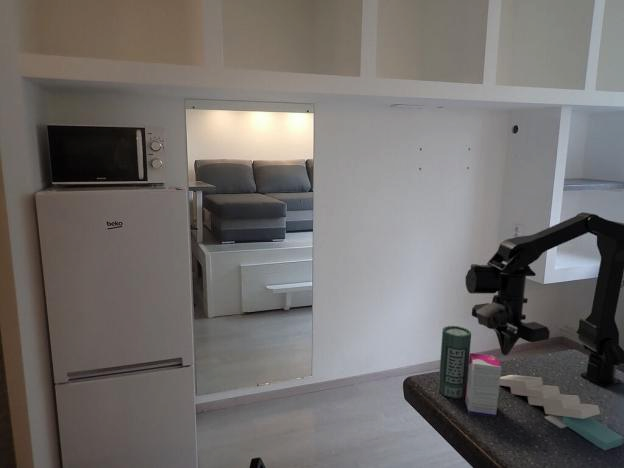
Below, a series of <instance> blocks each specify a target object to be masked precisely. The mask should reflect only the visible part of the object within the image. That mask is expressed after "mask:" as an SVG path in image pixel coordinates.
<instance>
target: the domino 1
mask: <svg viewBox="0 0 624 468" xmlns="http://www.w3.org/2000/svg"><path fill="white" fill-rule="evenodd" d="M543 383H544V382H543V379H542V377H538V376H528V375H527V376H526V375H518V374H517V375H516V374H510V375H509V374H508V375H503V376H500V385H499V386H504V387H516V388H524V389H528V388H532V387H537V386H541V385H544V384H543Z"/></svg>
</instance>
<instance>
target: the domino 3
mask: <svg viewBox="0 0 624 468" xmlns="http://www.w3.org/2000/svg"><path fill="white" fill-rule="evenodd" d="M526 397H527V401H528V405H530V406H540V407H544V406H547V407H556V408H567V407H570V406H574V405H578V404H582V403H581V400H580V396H579V395H573V394H572V395H571V394H561V393H560V394H559V395H555V396H551V397H548V398H544V399H543V398H537V397H530V396H526Z"/></svg>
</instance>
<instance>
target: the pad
mask: <svg viewBox="0 0 624 468" xmlns="http://www.w3.org/2000/svg"><path fill="white" fill-rule="evenodd" d="M544 419H545V420H546V421H548V422H549V423H551V424H553V425H555V426H557V427H558V428H560V429H561V430H562V429H564V428H569V427H568V426H566V425H565V424H563V423H562V421H563V416H558V415H551V414H548V415H545V416H544Z"/></svg>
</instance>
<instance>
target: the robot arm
mask: <svg viewBox="0 0 624 468" xmlns="http://www.w3.org/2000/svg"><path fill="white" fill-rule="evenodd" d="M586 234H592V235H593V236H595V237H596V247H597V249H598V252H599V255H600V263H599V268H598V274H597V278H596V284H595V290H594V295H593V301H592V306H591V312H590V314H589V315H588V316H587V317H586V318H585V319H584V318H580V319H578V328H577V331H576V334H577V335H578V340H579V341H580V343H581V344H582V348H583V350H584V351H587V352H588V353H589V355H588V360H587V366H586V372H581V373H580V377H582V378H585V379H586V380H589V381H591V382H593V383H595V384H597V385H598V386H601V387H603V388H608V387H611V386H616V385H619V384H622V380H620V379H618V378H616V374H617V370H618V369H617V368H618V367H617V366H620V365H624V349H623V348H622V346H620V332H619V331H620V330H619V328H618V326H617V322H616V314H617V308H618V305H619V303H618V302H619V297H620V292H621V288H622V282H623V277H624V223H623V222H620V221H614V220H610V219H605V218H603V217H602V216H599V215H598V214H595V213H589V212H580V213H578V214H576V215H575V216H573V217H570V218H568V219H566V220H564V221H561V222H559V223H557V224H554V225H552V226H549V227H548V228H546V229H543V230H541V231H539V232H536V233H533V234H528V235H521V236H515V237H512V238H508V239H504V240H503V241H501V242H500V243H499V246H498V249H497V251H496V252H495V253H494V254H493V255H492V257H491V258H490V259H489V260H488V262H487V263H486V264H474V263H472V264H471V265H470V268H469V269H468V270H467V273H466V275H465V288H466V290H467V292H468V293H469V294H495V295H493V297H492V300H491V303H489V302H487V303H480V304H474V306H472V308H471V316H472V317H473V318H476V319H477V322H478V324H479V325H481V326H485V327H486V328H487V329H488V330H489V329H490V330H493V331H494V332H495V334H496V338H497V342H498V344H499V347H500V352H501V354H502V355H503V356H508V355H509V354H510V352H511V351H512V349H513V348H514V346H515V344H516V343H517V342H518V340H520V339H522V340H524V341H526V342H529V343H536V342H541V341H546V340H549V339H550V333H551V331H550V329H549V327H548V326H546V325H544V324H541V323H539V322H535V321H532V322H527V323H526V322H524V321H525V320H526V317H527V316H526V315H525V314H523V311H524V310H523V308H524V304H527V303H528V298H526V297H525V292H526V291H525V290H526V289H525V288H526V283H527V281H526V280H527V277H536V275H537V273H536V272H534V271H533V269H532V268H531V266H530V265H532V263H534V262H535V261H537V260H539V259H540V257H541V256H542V255H543V253H546V252H547V251H549V250H551V249H554V248H555V247H558V246H560V245H562V244H565V243H568V242H570V241H572V240H575V239H576V238H579V237H582V236H583V235H586ZM503 262H504V263H503ZM505 263H506V264H505ZM496 293H497V294H496Z"/></svg>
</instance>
